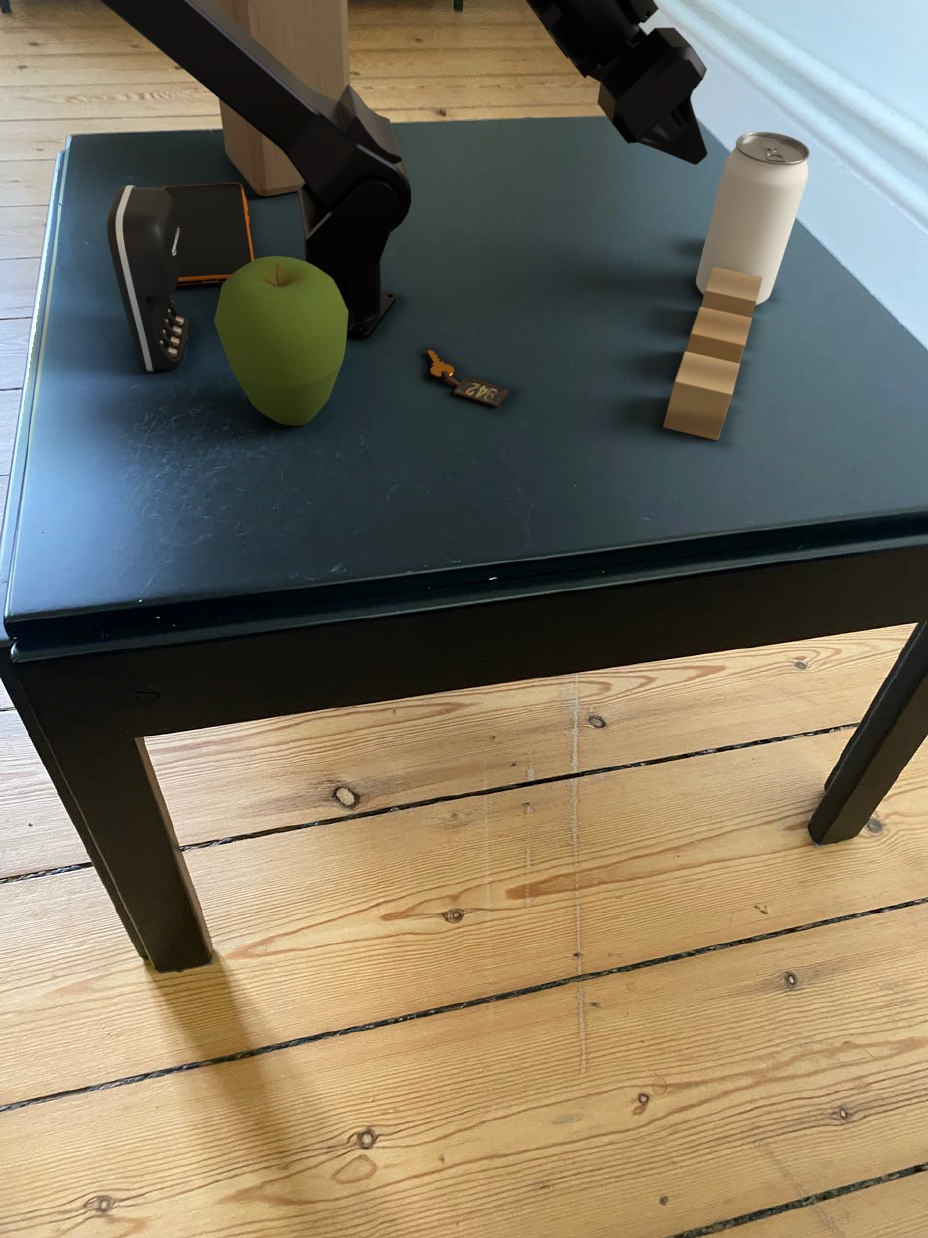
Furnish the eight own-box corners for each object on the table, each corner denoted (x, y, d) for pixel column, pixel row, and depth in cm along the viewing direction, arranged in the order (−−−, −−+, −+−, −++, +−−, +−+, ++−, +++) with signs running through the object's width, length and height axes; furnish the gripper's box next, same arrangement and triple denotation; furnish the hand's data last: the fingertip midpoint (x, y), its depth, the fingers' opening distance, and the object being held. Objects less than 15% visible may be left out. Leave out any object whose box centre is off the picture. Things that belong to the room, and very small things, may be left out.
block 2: (730, 391, 72) (745, 344, 69) (678, 379, 73) (690, 332, 70) (738, 363, 75) (752, 317, 72) (687, 351, 75) (699, 305, 72)
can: (761, 272, 84) (804, 131, 75) (777, 312, 80) (825, 167, 71) (688, 269, 84) (723, 127, 75) (701, 308, 80) (739, 163, 71)
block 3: (717, 441, 68) (732, 394, 65) (662, 427, 69) (674, 380, 66) (725, 409, 71) (740, 363, 68) (672, 397, 71) (685, 350, 68)
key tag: (514, 395, 70) (515, 388, 70) (489, 413, 69) (490, 406, 68) (430, 351, 73) (430, 344, 73) (404, 367, 72) (404, 360, 71)
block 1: (742, 346, 76) (756, 301, 73) (693, 335, 77) (705, 290, 74) (749, 321, 79) (762, 276, 76) (701, 310, 80) (713, 266, 77)
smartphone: (164, 288, 77) (162, 278, 77) (161, 194, 88) (160, 185, 87) (258, 281, 79) (257, 272, 78) (244, 190, 89) (243, 181, 89)
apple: (218, 393, 69) (191, 240, 60) (329, 371, 71) (320, 221, 63) (250, 466, 64) (226, 311, 55) (369, 439, 66) (364, 286, 57)
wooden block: (224, 158, 94) (190, -89, 79) (319, 143, 97) (304, -97, 82) (258, 202, 88) (228, -55, 73) (357, 184, 92) (349, -65, 76)
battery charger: (191, 375, 70) (162, 225, 61) (138, 375, 70) (101, 224, 61) (201, 323, 75) (175, 176, 66) (151, 323, 74) (119, 175, 66)
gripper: (711, -116, 51) (830, 97, 61) (611, -187, 63) (724, 2, 73) (553, 48, 56) (688, 221, 66) (487, -47, 68) (610, 113, 78)
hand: (679, 131), depth 71 cm, fingers open, 9 cm apart
